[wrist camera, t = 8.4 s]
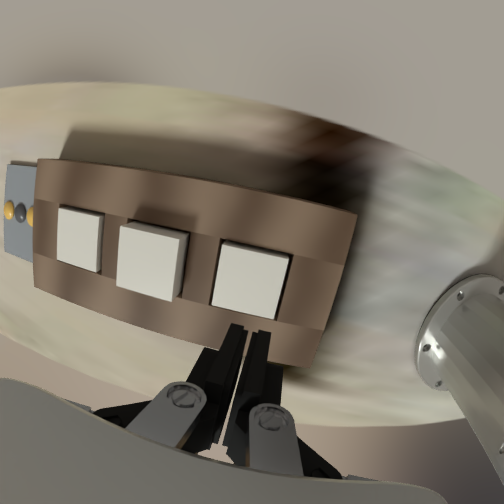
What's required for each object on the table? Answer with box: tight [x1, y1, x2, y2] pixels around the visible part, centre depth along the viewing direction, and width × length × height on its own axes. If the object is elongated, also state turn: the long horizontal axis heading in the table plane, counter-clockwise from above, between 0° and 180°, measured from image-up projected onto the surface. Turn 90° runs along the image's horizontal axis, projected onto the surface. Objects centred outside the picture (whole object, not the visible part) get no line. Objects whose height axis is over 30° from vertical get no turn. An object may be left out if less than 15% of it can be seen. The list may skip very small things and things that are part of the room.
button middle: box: [116, 221, 190, 302], centre depth 20 cm, size 4×4×2 cm
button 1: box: [212, 240, 289, 319], centre depth 21 cm, size 4×4×2 cm
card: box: [4, 164, 37, 263], centre depth 24 cm, size 7×10×1 cm
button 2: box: [57, 206, 105, 272], centre depth 22 cm, size 4×4×2 cm
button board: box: [32, 159, 358, 368], centre depth 22 cm, size 26×12×3 cm, turn 79°
